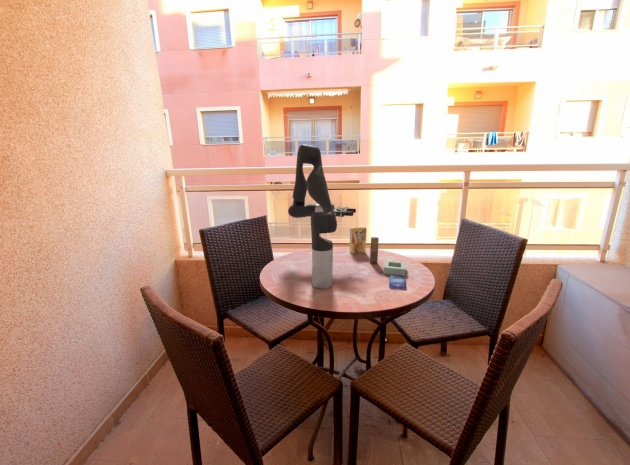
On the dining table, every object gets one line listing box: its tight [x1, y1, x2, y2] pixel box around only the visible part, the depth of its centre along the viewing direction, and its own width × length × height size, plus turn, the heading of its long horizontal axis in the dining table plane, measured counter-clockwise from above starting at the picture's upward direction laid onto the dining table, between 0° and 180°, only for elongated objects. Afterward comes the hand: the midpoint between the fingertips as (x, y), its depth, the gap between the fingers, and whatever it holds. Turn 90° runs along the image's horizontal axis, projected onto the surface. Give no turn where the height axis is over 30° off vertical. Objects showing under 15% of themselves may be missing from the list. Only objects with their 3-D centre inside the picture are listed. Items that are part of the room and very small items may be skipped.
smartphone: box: [388, 274, 407, 291], centre depth 134 cm, size 7×1×15 cm
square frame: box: [383, 260, 406, 277], centre depth 146 cm, size 10×10×4 cm
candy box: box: [349, 226, 367, 254], centre depth 174 cm, size 9×4×15 cm, turn 103°
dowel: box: [369, 236, 380, 265], centre depth 156 cm, size 4×4×14 cm
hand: (354, 212), depth 154 cm, fingers open, 8 cm apart
